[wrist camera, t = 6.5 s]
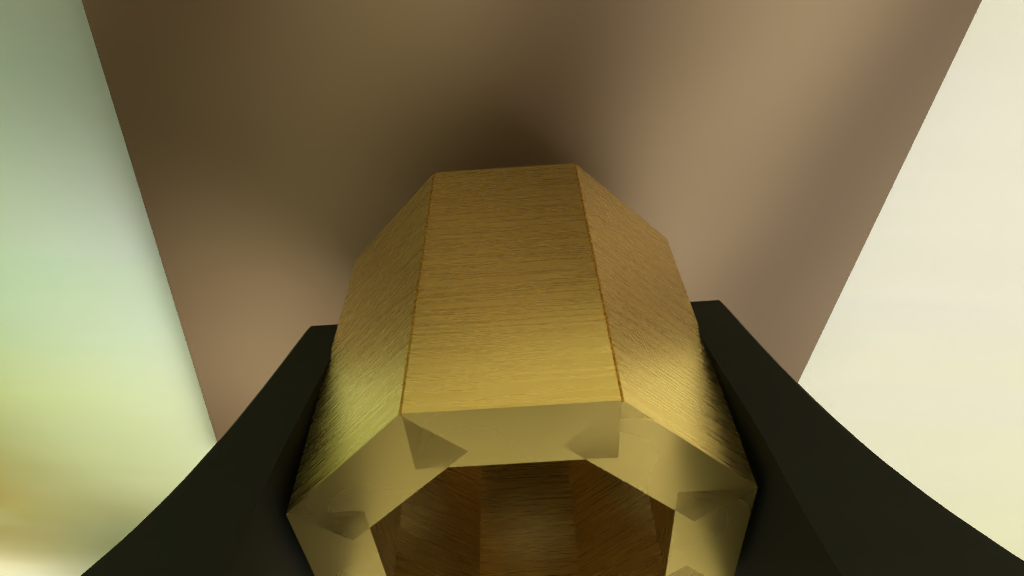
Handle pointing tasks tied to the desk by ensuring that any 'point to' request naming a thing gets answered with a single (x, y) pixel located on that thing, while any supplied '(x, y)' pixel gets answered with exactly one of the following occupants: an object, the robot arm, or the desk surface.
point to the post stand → (510, 141)
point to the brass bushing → (520, 396)
